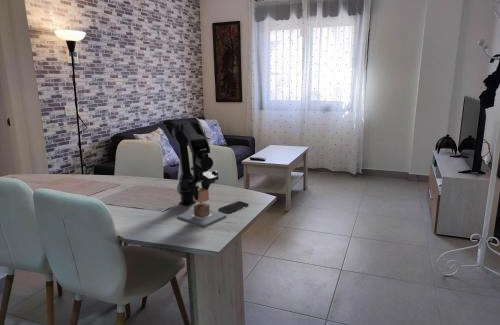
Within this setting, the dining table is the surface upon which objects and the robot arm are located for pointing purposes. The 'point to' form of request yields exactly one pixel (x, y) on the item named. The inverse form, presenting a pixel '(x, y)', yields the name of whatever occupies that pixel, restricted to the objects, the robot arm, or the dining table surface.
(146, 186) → the dining table surface
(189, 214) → the board
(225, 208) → the phone
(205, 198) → the terracotta cube
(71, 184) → the dining table surface
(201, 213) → the walnut cube
